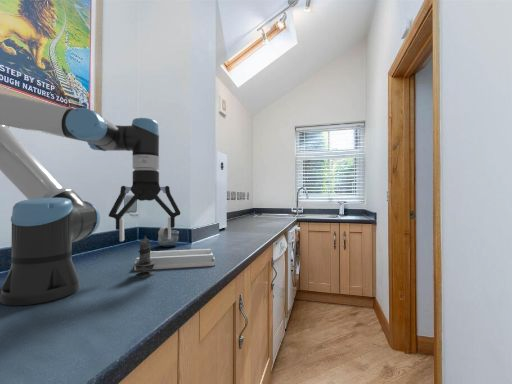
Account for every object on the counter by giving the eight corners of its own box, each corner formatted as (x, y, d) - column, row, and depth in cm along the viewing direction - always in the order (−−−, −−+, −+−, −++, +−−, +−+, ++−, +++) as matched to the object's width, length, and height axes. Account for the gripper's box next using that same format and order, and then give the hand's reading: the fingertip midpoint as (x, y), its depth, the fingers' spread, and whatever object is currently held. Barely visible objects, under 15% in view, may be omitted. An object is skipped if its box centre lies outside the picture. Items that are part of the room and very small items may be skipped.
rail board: (134, 270, 88) (134, 259, 88) (140, 261, 99) (140, 251, 100) (215, 265, 94) (215, 255, 94) (211, 257, 106) (211, 248, 106)
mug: (180, 244, 134) (181, 224, 134) (175, 249, 122) (175, 227, 122) (160, 244, 134) (161, 224, 134) (152, 249, 121) (153, 227, 121)
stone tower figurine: (143, 271, 87) (144, 233, 87) (159, 273, 85) (159, 234, 85) (129, 276, 81) (130, 236, 81) (145, 278, 79) (145, 237, 79)
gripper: (96, 168, 77) (97, 243, 76) (188, 169, 83) (188, 239, 83) (104, 170, 84) (104, 239, 84) (187, 171, 90) (188, 235, 90)
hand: (146, 239), depth 83 cm, fingers open, 13 cm apart
